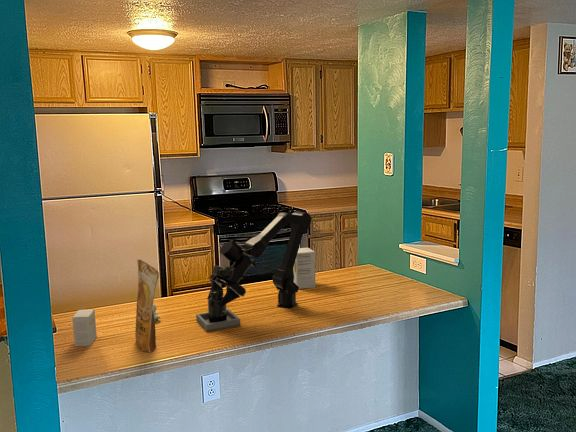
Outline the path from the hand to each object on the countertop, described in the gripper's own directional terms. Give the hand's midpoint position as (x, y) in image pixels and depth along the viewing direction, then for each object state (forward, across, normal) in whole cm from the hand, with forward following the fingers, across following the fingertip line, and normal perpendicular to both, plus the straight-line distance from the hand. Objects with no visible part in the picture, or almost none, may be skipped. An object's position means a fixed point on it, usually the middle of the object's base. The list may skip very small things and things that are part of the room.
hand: (214, 303), depth 204 cm
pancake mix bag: (+25, +3, -14) cm, 29 cm away
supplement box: (-34, -19, +45) cm, 59 cm away
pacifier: (+18, -19, -6) cm, 27 cm away
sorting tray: (+5, 0, +7) cm, 8 cm away
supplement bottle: (+4, 0, +6) cm, 8 cm away
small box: (+37, -12, -25) cm, 46 cm away
